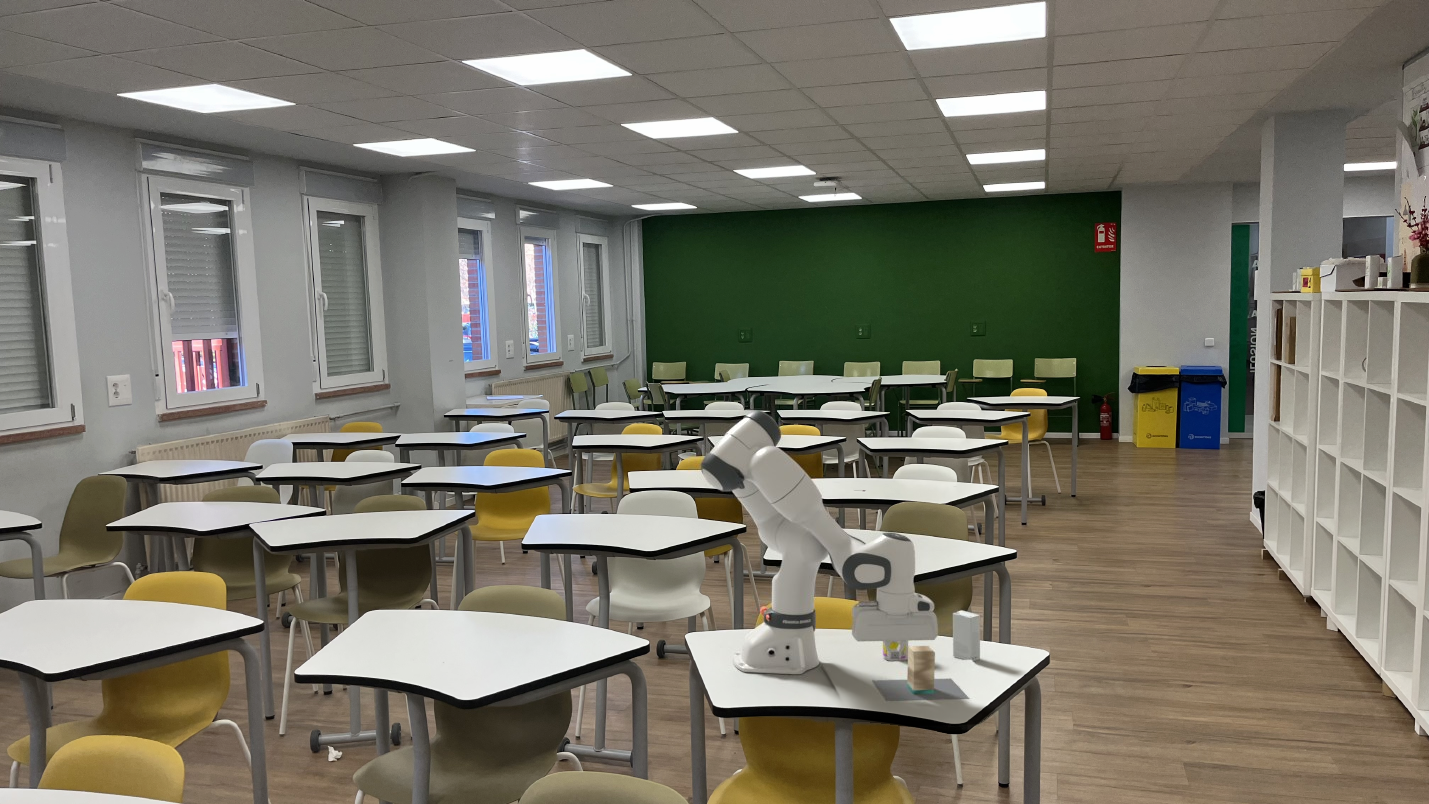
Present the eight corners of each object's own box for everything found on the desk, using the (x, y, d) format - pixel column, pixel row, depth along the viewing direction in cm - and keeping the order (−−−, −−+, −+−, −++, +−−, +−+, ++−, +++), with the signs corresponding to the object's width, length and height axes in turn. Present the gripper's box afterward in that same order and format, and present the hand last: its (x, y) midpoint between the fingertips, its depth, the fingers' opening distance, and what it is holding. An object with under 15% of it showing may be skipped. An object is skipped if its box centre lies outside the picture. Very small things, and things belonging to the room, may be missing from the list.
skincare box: (980, 659, 257) (982, 614, 256) (970, 663, 254) (971, 617, 253) (961, 653, 261) (962, 609, 261) (951, 656, 259) (952, 612, 258)
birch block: (913, 694, 229) (914, 653, 228) (907, 686, 234) (908, 646, 233) (933, 693, 230) (935, 652, 229) (927, 685, 235) (928, 645, 234)
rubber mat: (886, 705, 225) (886, 700, 225) (872, 684, 238) (872, 680, 238) (969, 702, 227) (969, 698, 227) (950, 682, 240) (950, 678, 240)
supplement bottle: (889, 652, 262) (890, 605, 260) (911, 657, 258) (913, 610, 257) (878, 659, 256) (879, 611, 255) (901, 664, 252) (902, 616, 251)
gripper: (855, 605, 225) (854, 663, 226) (940, 604, 227) (939, 661, 228) (849, 598, 232) (848, 654, 233) (932, 596, 233) (930, 652, 235)
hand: (893, 657), depth 231 cm, fingers closed
